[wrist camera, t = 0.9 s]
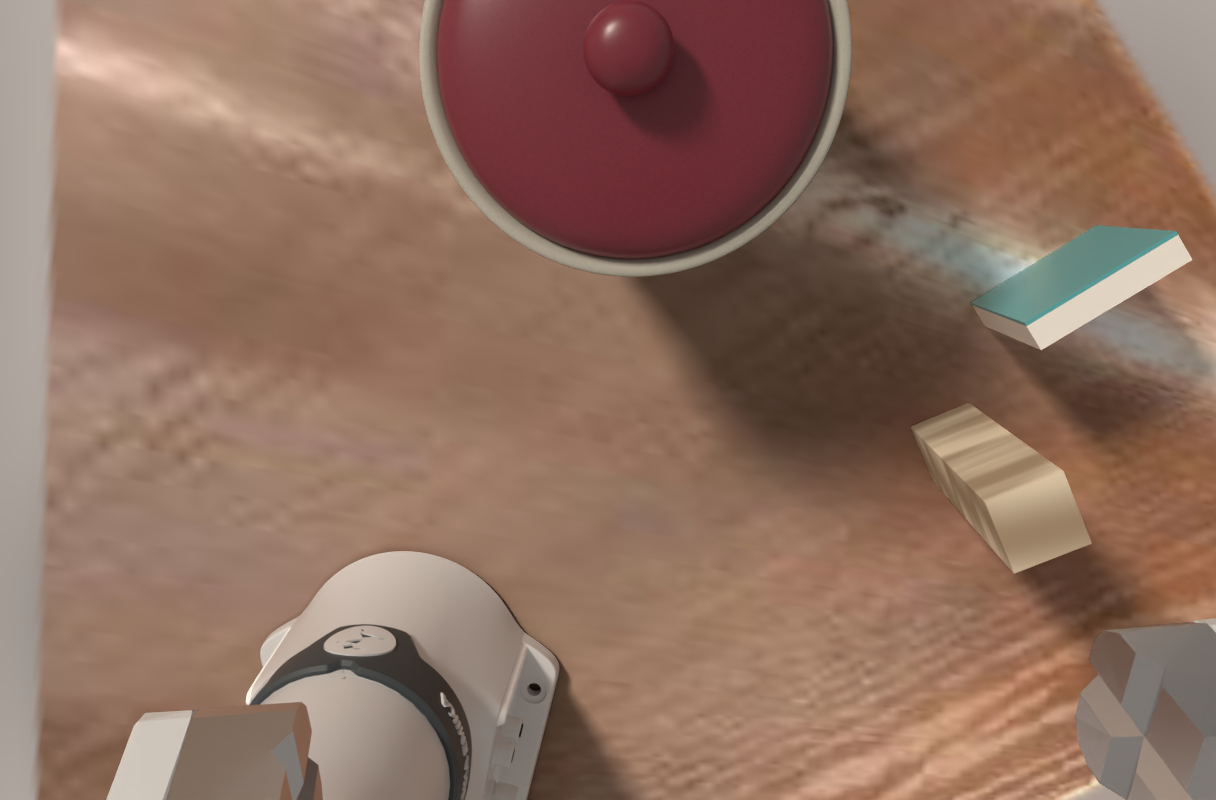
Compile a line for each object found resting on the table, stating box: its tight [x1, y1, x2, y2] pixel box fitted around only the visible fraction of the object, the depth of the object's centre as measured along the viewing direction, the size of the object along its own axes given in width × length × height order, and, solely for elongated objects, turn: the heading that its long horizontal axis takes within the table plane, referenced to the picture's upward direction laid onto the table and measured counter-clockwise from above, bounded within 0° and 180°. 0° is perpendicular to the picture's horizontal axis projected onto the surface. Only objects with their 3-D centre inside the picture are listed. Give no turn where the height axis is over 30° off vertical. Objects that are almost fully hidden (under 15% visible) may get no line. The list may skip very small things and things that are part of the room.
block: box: [911, 403, 1092, 574], centre depth 56 cm, size 4×4×16 cm
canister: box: [419, 0, 852, 277], centre depth 51 cm, size 18×18×21 cm
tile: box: [970, 225, 1192, 350], centre depth 57 cm, size 2×8×10 cm, turn 123°
